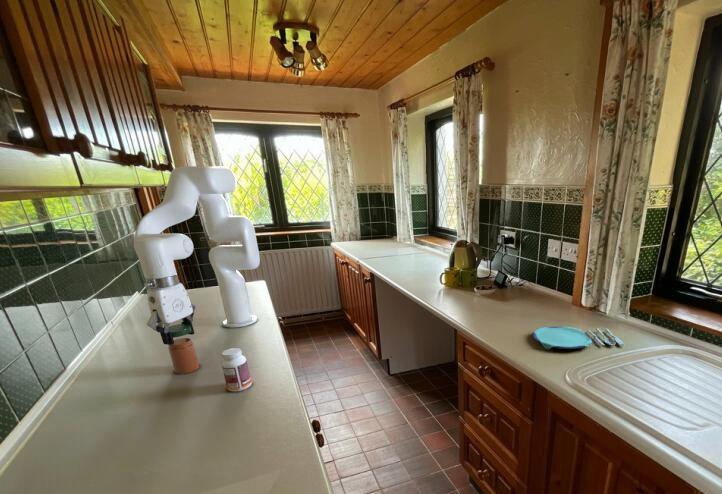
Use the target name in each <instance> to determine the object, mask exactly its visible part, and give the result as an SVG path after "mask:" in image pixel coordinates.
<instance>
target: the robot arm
mask: <svg viewBox="0 0 722 494" xmlns="http://www.w3.org/2000/svg"><path fill="white" fill-rule="evenodd" d="M237 180H238V179H237V176H236V174H235V172H234V171H233V170H232V169H231V168H229V167H228V166H208V165H207V166H205V165H202V166H200V165H199V166H198V165H197V166H193V165H192V166H191V165H190V166H189V165H188V166H186V165H185V166H178V167H175V168H173V169H172V170H171V171H170V173H169V177H168V181H167V185H166V188H165V192H164V195H163V198H162V202H161V203H159V204H158V205H156V206H155V207H153V208H152V209H151V210H150V211H148V212H147V213H145V215H144V216H143V217H142V218H141V219H140V220H139V221H138V223H137V226H136V230H135V234H134V237H133V249H134V252H135V253H136V255H137V258H138V261H139V265H140V268H141V271H142V275H143V277H144V281H145V282H144V284H143V285H144V287H145V288H147V289H146V295H147V297H146V298H147V303H148V308H149V313H150V315H151V316H150V317H149V319H148V320H147V323H146V326H147V327H149V328H151V329H152V330H154V331H155V332H157V333H159V334H160V337H161V341H162V343H163V345H168V346H169V345H173V344H174V340H175V339H174V338H173V336H172V333H171V332H169V326H171V324H173V323H175V322H178V321H180V320H181V322H180V324H189V325H190V327H191V330H192V331H191V332H190V333H189V334H188V335H195V330H194V326H193V321H194V319H193V318H194V315H195V310H196V305H195V304H192V302H191V300H190V297H189V294H188V292H187V290H186V288H185V286H184V285H183V283H182V282H180V280H179V276H178V273H177V268H176V266H175V262H174V261H176V260H184V259H187V258H188V257H190V256H191V255H192V254H193V252H194V243H193V241H192V239H191V238H190V237H189V236H188V235H186V234H183V233H176V232H175V233H174V232H172V233H171V232H169V233H168V232H167V233H163V231H164V230H166V229H168V228H169V227H172V226H175V225H178V224H180V223H182V222H184V221H187V220H189V219H191V218H193V217H194V216H195V214H196V211H197V206H198V201H199V204H200V205H201V208H202V212H203V217H204V221H205V226H206V230H207V234H208V236H209V238H210V239H211V240H212V241H213V242H216V243H217V242H218V243H240V244H230V245H229V244H227V245H217V246H214V247H212V248H210V250H209V251H208V259H209V263H210V266H211V268H212V270H213V271H214V275H215V278H216V282H217V286H218V289H219V294H220V298H221V303H222V307H223V311H224V315H225V319H224V320H223V322H222V326H223V327H225V328H241V327H246V326H250V325H252V324H254V323H256V322H257V321H258V317H257V316H256V315H253V313H252V308H251V303H250V298H249V294H248V289H247V284H246V280H245V278H244V276H243V275H242V273H240V272H239V271H242V270H243V271H244V270H255V269H257V268H259V266H260V263H261V256H260V251H259V246H258V245H259V244H258V241H257V235H256V234H257V233H256V229H255V227H254V223H253V221H252V220H251V219H250V218H249V217H247V216H244V215H231V213H230V209H229V205H228V201H227V199H226V198H225V197H224V196H223V195H222V194H227V193H233V192H234V191H235V190H236V188H237V184H238V183H237V182H238V181H237Z"/></svg>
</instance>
